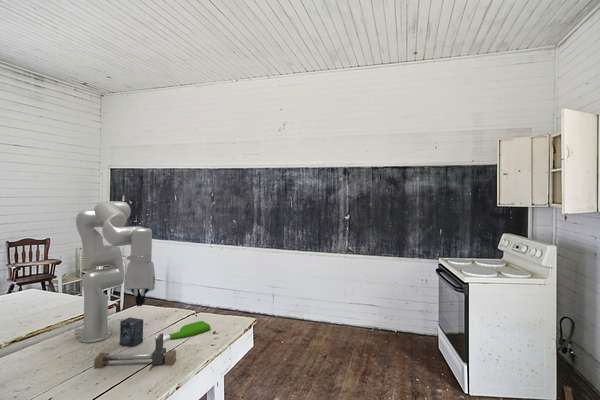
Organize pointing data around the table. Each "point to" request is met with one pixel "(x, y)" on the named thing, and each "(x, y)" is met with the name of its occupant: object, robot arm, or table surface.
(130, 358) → the rod with tan block
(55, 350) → the table surface
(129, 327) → the box
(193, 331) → the spray bottle
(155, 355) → the collar
